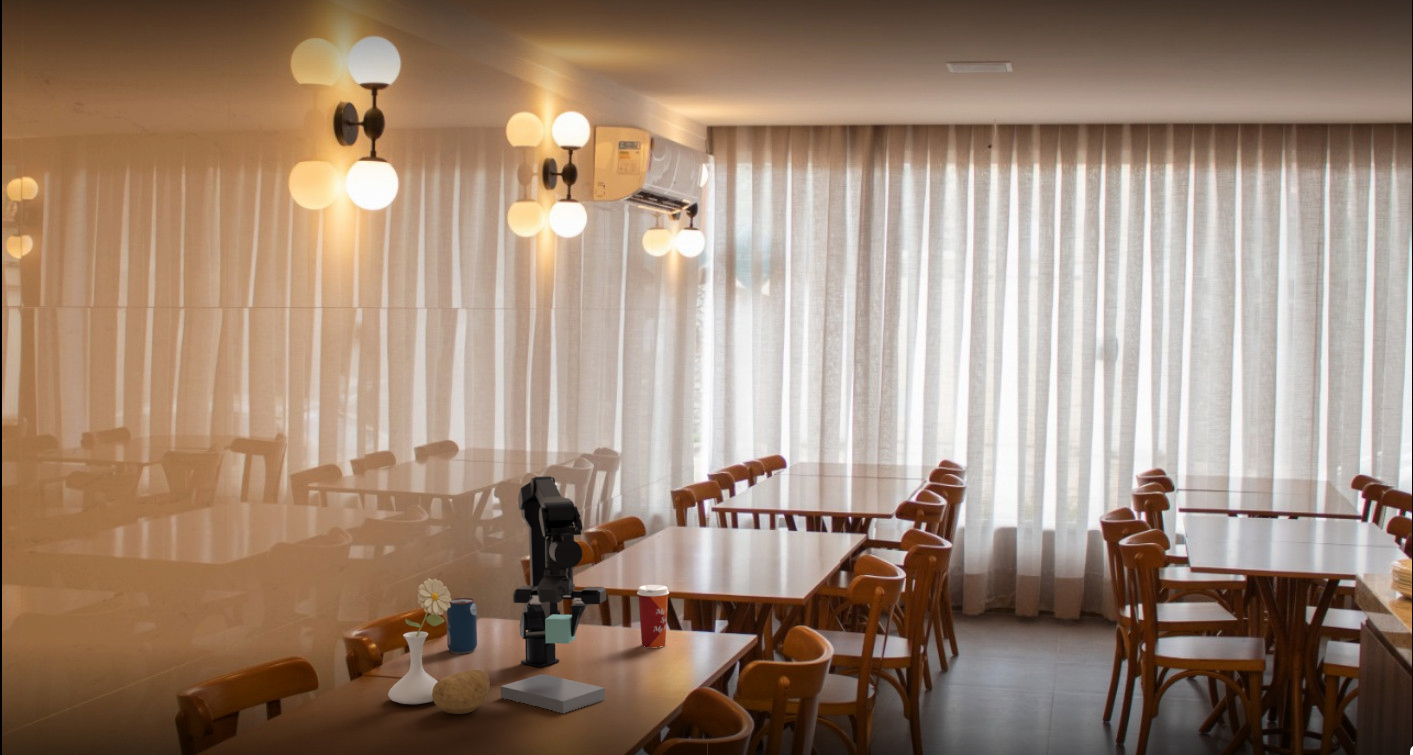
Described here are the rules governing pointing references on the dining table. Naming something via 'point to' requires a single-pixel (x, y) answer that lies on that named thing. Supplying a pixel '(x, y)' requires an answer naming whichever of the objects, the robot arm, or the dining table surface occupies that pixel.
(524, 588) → the robot arm
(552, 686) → the slate board
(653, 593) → the paper cup
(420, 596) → the flower in vase
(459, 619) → the soda can
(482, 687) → the potato
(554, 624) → the teal cube
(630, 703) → the dining table surface
